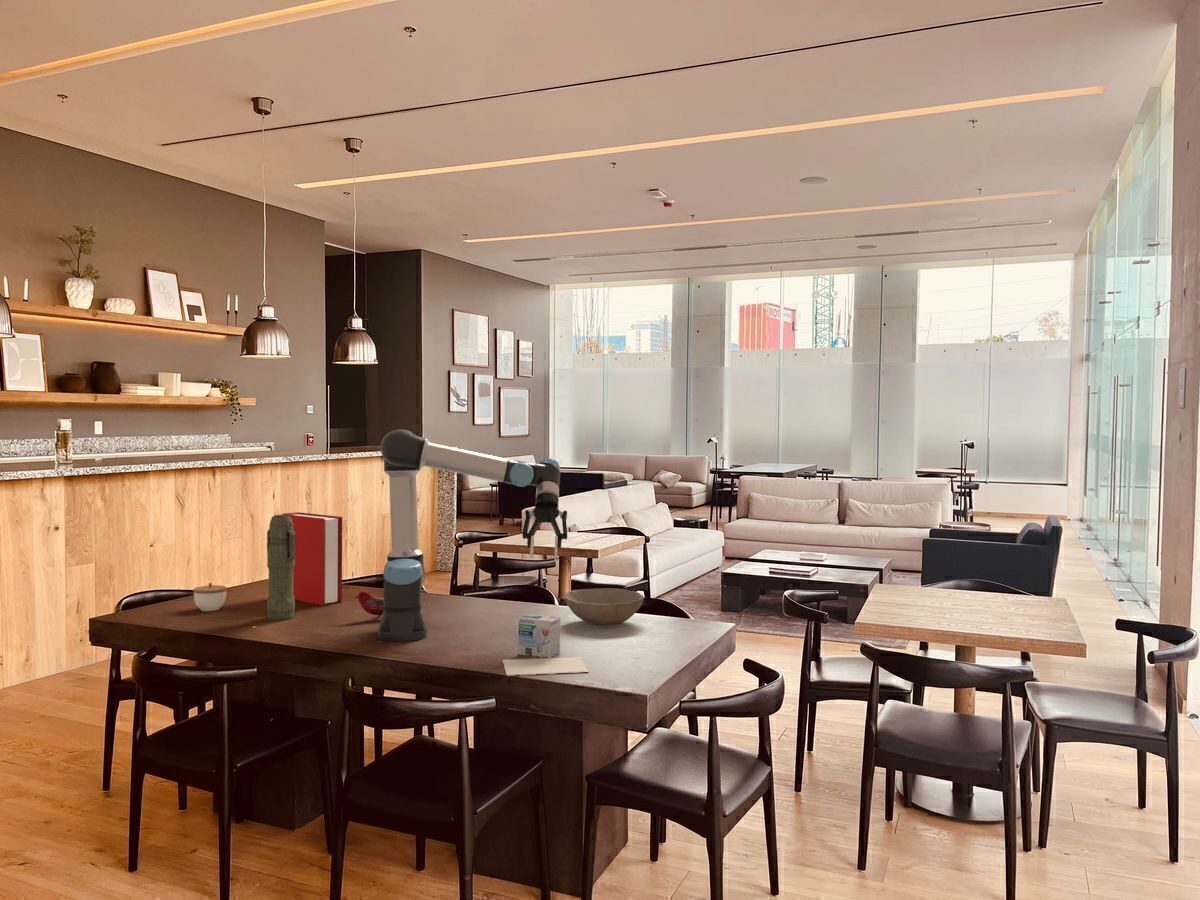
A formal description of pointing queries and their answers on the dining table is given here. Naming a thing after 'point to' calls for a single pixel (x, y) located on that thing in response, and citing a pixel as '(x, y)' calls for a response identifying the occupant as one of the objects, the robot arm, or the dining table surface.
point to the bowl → (604, 605)
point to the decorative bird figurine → (371, 604)
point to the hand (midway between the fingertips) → (543, 555)
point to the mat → (544, 666)
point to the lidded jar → (210, 597)
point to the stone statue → (281, 568)
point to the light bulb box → (539, 635)
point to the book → (317, 558)
